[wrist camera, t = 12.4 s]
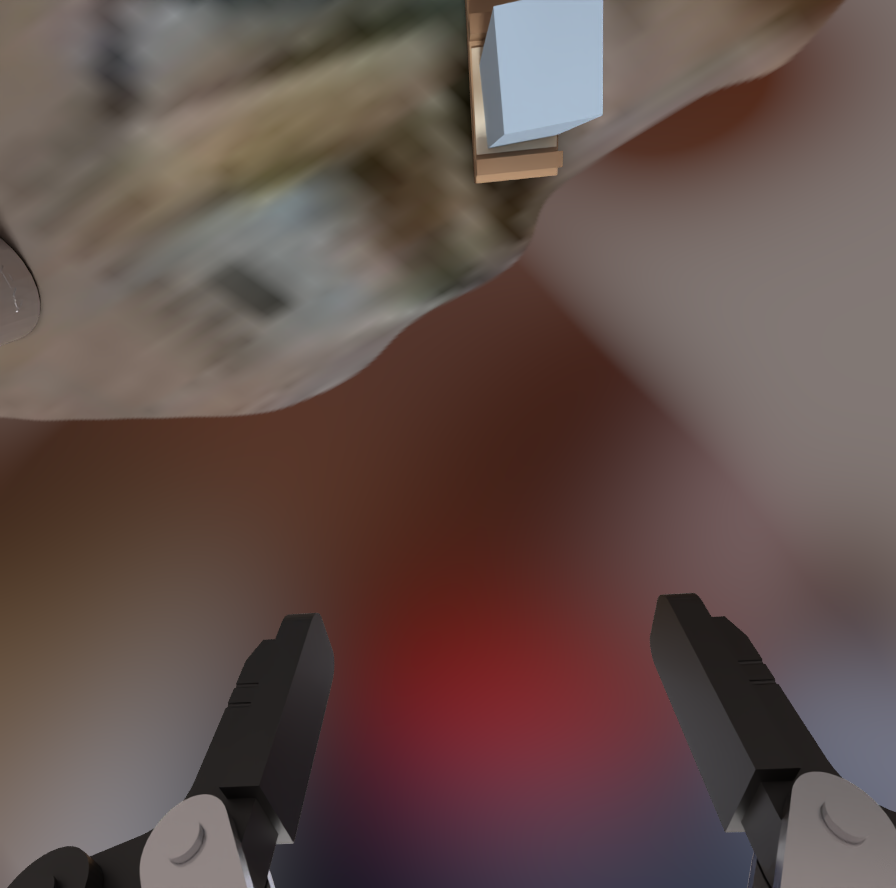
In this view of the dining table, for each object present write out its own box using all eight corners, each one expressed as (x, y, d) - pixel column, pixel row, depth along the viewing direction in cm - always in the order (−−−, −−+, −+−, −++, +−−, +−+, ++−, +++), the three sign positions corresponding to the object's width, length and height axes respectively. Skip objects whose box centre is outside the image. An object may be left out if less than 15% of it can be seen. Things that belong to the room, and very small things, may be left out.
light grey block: (487, 148, 28) (504, 134, 19) (478, 58, 25) (492, -5, 17) (554, 135, 27) (602, 115, 19) (551, 42, 25) (603, -30, 16)
